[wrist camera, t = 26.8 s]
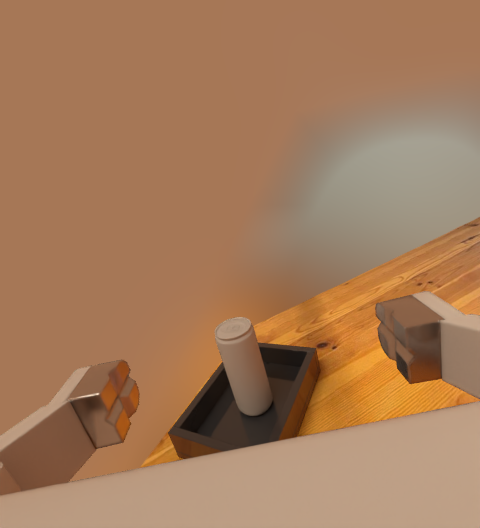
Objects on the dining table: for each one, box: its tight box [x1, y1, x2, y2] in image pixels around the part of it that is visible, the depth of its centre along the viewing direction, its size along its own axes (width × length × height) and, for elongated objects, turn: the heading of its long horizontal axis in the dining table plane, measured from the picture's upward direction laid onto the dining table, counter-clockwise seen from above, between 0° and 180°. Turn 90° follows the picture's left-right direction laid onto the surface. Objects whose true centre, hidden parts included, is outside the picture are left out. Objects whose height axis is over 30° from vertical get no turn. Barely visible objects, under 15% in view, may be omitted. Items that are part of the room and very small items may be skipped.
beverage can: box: [215, 317, 273, 416], centre depth 37 cm, size 5×5×12 cm
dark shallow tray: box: [168, 343, 320, 459], centre depth 39 cm, size 18×13×4 cm
